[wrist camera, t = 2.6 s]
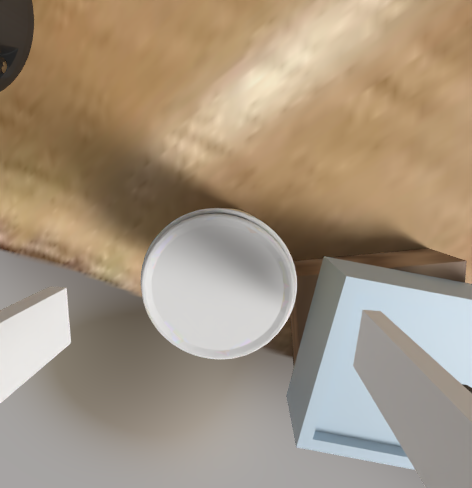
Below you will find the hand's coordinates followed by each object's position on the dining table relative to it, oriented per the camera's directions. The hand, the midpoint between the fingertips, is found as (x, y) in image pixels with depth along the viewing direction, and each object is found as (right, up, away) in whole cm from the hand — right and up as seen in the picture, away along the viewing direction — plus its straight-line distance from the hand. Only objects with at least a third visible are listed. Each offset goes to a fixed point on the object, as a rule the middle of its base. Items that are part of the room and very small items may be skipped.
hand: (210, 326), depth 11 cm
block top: (+14, -5, +12) cm, 19 cm away
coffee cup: (+1, +3, +15) cm, 16 cm away
